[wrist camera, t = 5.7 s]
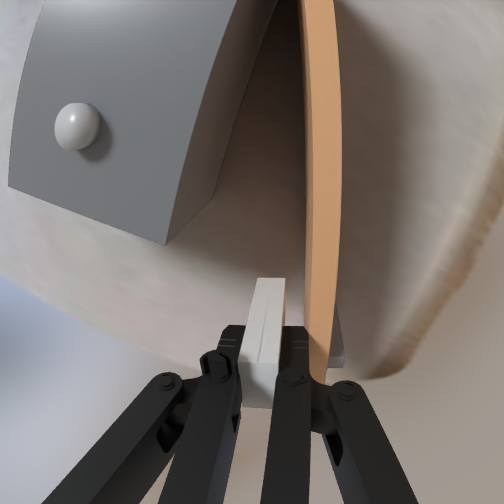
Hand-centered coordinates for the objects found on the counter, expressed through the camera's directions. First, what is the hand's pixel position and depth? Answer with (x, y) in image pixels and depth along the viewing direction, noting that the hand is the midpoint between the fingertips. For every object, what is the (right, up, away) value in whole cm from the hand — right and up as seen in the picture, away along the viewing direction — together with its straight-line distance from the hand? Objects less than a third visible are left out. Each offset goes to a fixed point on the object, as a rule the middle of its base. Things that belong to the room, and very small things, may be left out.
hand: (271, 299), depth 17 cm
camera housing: (-6, +14, -1) cm, 16 cm away
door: (+3, +9, 0) cm, 10 cm away
